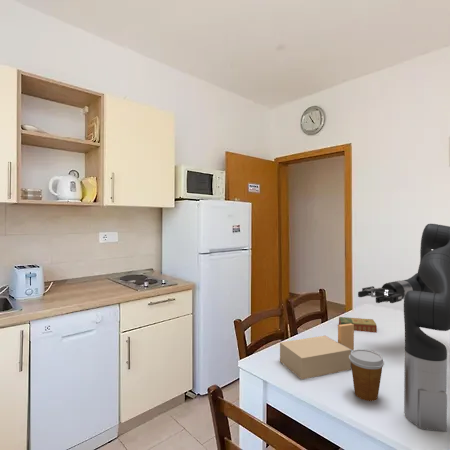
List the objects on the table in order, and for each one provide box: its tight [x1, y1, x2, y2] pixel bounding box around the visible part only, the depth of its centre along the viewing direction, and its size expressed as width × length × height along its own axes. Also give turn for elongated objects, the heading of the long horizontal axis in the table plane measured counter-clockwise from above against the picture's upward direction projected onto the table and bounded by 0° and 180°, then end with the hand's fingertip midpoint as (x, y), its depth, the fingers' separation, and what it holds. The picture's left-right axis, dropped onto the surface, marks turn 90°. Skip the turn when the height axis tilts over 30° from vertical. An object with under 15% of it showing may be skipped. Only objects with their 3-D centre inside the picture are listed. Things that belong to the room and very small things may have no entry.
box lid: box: [279, 335, 352, 380], centre depth 110 cm, size 20×14×7 cm
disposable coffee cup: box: [349, 348, 385, 402], centre depth 91 cm, size 10×10×12 cm
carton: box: [338, 316, 378, 333], centre depth 149 cm, size 8×16×4 cm, turn 74°
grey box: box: [327, 323, 355, 369], centre depth 111 cm, size 26×14×12 cm, turn 110°
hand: (367, 297), depth 119 cm, fingers open, 8 cm apart
